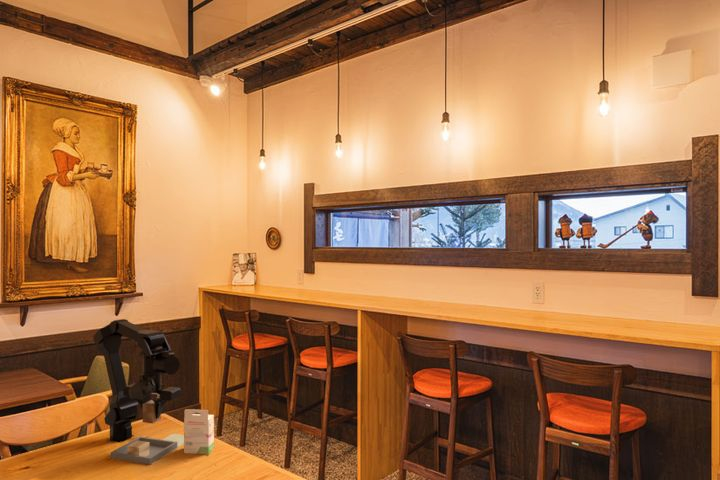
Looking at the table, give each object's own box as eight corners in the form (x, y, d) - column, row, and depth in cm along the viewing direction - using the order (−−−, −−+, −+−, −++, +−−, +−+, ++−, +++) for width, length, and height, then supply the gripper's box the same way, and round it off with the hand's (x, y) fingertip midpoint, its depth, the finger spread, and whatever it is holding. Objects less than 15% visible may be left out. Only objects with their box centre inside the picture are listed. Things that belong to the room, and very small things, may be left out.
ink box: (214, 449, 162) (215, 405, 162) (208, 456, 157) (208, 410, 157) (189, 448, 163) (190, 404, 163) (182, 454, 158) (183, 409, 158)
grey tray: (110, 460, 154) (110, 452, 154) (139, 443, 166) (139, 436, 166) (150, 466, 149) (150, 458, 149) (177, 449, 162) (177, 441, 162)
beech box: (127, 458, 153) (127, 446, 153) (137, 452, 158) (137, 440, 158) (139, 460, 152) (139, 447, 152) (149, 454, 156) (149, 442, 156)
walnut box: (142, 422, 159) (142, 403, 159) (150, 417, 163) (151, 399, 163) (152, 423, 158) (152, 404, 158) (161, 419, 162) (161, 400, 162)
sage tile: (155, 445, 165) (155, 443, 165) (172, 435, 174) (172, 433, 174) (178, 448, 162) (178, 447, 162) (194, 438, 171) (194, 436, 171)
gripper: (110, 374, 156) (110, 423, 156) (159, 379, 150) (159, 429, 150) (135, 365, 166) (135, 411, 166) (182, 370, 161) (182, 417, 161)
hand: (151, 417), depth 161 cm, fingers closed on walnut box, 4 cm apart
